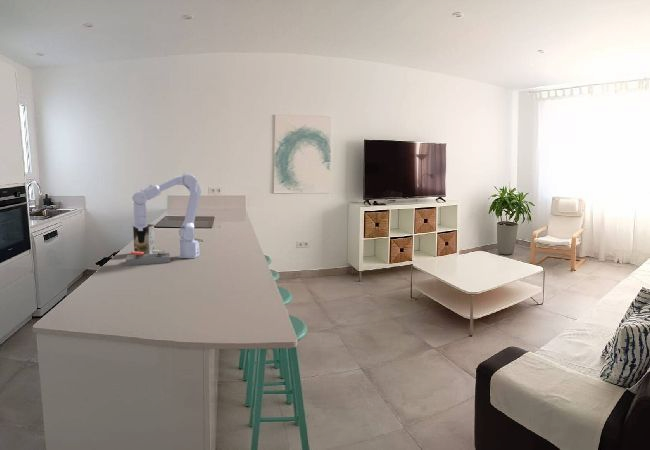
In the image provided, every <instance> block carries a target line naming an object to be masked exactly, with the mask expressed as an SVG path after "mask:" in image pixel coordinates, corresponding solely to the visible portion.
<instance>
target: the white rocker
mask: <svg viewBox="0 0 650 450" xmlns="http://www.w3.org/2000/svg"><path fill="white" fill-rule="evenodd" d="M152 252H153V253H154V254H158V253H160V254H165V253H166V250H162V249H161V250H159V249H155V250H153V251H152Z"/></svg>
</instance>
